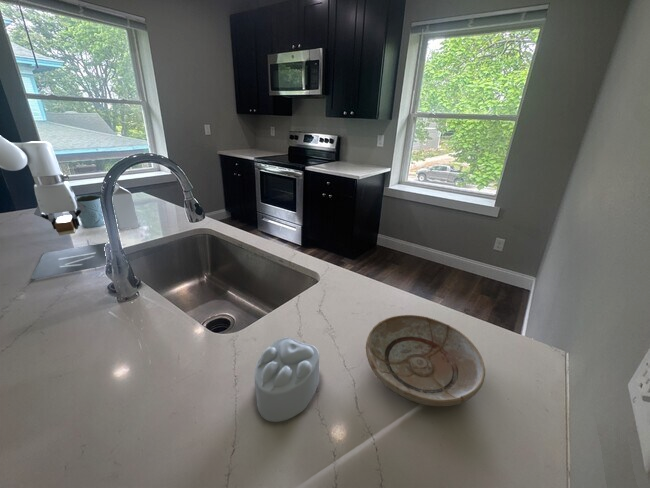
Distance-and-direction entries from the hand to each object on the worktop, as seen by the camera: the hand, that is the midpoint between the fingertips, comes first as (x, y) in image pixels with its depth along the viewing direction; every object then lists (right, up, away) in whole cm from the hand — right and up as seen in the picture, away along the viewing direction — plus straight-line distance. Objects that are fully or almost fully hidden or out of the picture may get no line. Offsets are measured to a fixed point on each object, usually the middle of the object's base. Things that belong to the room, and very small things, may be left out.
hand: (67, 228), depth 109 cm
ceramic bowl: (+115, -32, -45) cm, 127 cm away
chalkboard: (+11, -11, -9) cm, 18 cm away
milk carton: (+10, +2, +19) cm, 21 cm away
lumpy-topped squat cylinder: (+87, -34, -52) cm, 107 cm away
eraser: (0, -1, 0) cm, 1 cm away
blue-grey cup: (-5, +3, +20) cm, 21 cm away
